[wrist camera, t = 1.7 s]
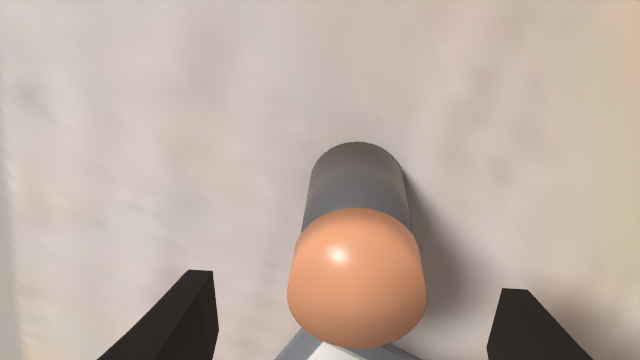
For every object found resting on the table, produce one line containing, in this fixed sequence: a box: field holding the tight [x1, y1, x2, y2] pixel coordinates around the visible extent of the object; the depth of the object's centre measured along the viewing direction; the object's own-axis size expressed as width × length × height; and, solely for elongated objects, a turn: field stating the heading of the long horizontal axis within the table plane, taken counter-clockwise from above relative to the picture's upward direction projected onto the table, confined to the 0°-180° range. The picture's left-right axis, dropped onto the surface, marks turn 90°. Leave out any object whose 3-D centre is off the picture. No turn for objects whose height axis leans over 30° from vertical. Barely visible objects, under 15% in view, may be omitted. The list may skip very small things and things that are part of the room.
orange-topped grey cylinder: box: [287, 142, 427, 349], centre depth 15 cm, size 4×4×6 cm
